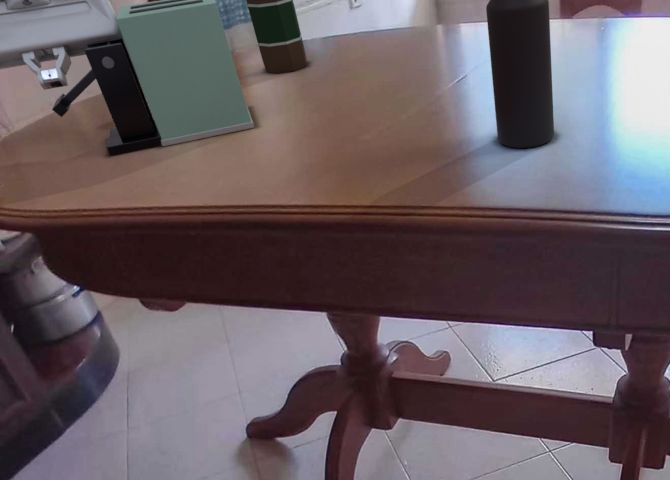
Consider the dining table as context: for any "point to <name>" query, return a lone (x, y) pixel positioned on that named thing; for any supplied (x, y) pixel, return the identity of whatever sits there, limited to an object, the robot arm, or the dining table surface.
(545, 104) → the vinegar
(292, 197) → the dining table surface
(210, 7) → the toaster
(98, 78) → the lever bracket
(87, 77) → the toaster lever
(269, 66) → the beer bottle
